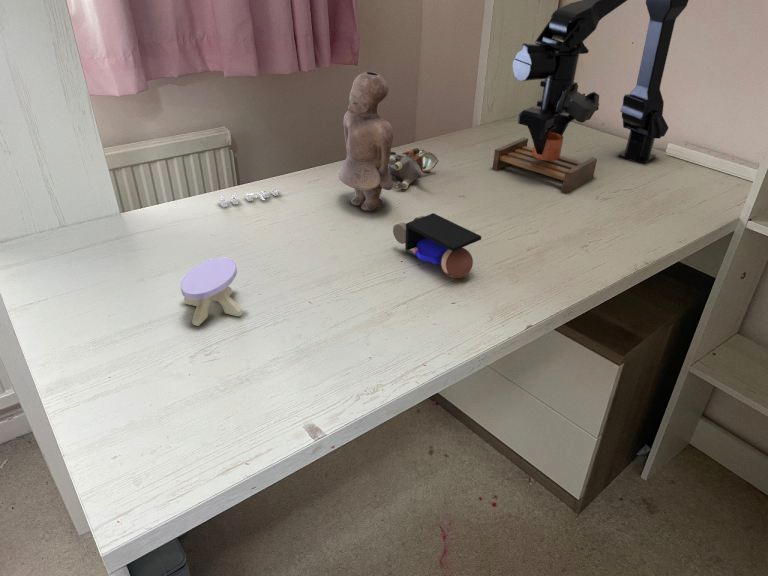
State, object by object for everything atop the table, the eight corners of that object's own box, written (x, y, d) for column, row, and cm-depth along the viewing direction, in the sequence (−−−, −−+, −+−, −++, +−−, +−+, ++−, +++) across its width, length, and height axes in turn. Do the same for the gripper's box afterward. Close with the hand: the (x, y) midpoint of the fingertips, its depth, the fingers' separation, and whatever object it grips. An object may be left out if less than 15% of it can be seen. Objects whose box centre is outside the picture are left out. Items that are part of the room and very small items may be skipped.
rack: (520, 155, 144) (523, 137, 142) (593, 178, 134) (597, 158, 132) (492, 168, 137) (494, 149, 134) (566, 193, 127) (570, 173, 124)
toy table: (214, 283, 93) (210, 251, 90) (260, 302, 90) (257, 268, 87) (165, 315, 86) (158, 280, 83) (213, 336, 82) (208, 301, 79)
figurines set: (275, 192, 122) (274, 179, 121) (281, 197, 120) (280, 184, 119) (216, 204, 117) (215, 190, 115) (221, 210, 115) (220, 196, 113)
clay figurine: (325, 200, 120) (323, 68, 106) (364, 187, 126) (366, 61, 112) (368, 224, 112) (371, 84, 98) (408, 209, 118) (416, 76, 104)
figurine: (345, 151, 129) (391, 132, 140) (346, 178, 132) (391, 157, 143) (425, 168, 118) (467, 146, 130) (424, 197, 121) (466, 173, 133)
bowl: (540, 149, 137) (544, 129, 134) (564, 156, 133) (568, 136, 131) (527, 155, 133) (530, 135, 131) (551, 163, 130) (554, 142, 127)
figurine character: (390, 258, 104) (452, 288, 94) (388, 216, 101) (452, 243, 90) (419, 247, 108) (482, 274, 98) (419, 206, 105) (484, 230, 94)
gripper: (574, 93, 114) (558, 172, 122) (617, 77, 126) (600, 150, 134) (522, 81, 120) (511, 157, 128) (568, 67, 132) (555, 137, 140)
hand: (546, 150), depth 133 cm, fingers closed on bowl, 6 cm apart
